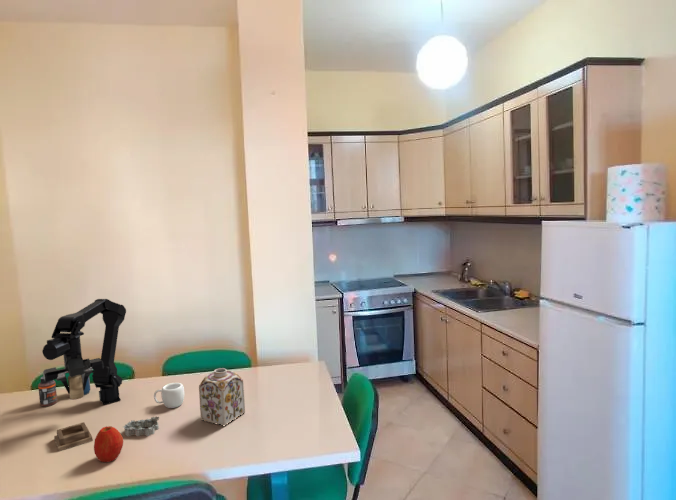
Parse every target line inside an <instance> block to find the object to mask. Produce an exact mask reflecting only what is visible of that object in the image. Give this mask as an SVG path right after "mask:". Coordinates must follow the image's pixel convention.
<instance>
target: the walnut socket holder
mask: <svg viewBox="0 0 676 500" xmlns="http://www.w3.org/2000/svg"><path fill="white" fill-rule="evenodd" d="M53 438H54V442H55V445H56V448H57V451H58V452H61V451H64V450H67V449H71V448H74V447H77V446H79V445H84V444H86V443H90V442H93V439H94V438H93V436H92V433H91V432H90V430H89V428H88V426H87V425H86V423H85V422H80V423H76V424H72V425H70V426H66V427H62V428H59V429H57V430H56V435H54V437H53Z"/></svg>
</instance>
